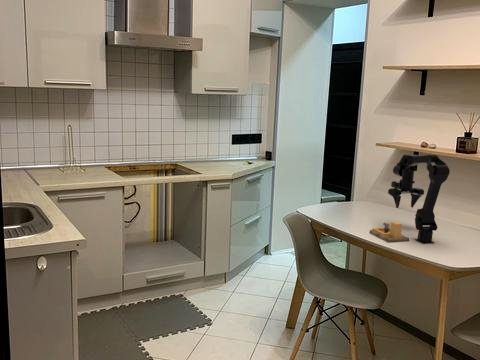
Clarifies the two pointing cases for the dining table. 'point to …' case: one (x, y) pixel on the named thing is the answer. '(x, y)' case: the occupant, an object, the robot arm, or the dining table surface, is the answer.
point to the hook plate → (389, 238)
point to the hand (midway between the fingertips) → (404, 207)
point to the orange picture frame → (394, 230)
